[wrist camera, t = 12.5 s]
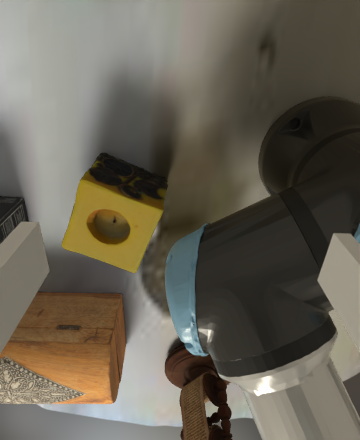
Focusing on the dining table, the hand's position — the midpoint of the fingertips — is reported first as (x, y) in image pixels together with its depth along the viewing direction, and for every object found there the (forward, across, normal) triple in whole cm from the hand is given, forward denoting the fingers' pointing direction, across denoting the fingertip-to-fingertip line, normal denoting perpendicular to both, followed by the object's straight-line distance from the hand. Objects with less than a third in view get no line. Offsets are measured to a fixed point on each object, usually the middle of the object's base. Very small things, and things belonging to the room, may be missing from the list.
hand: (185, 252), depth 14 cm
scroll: (+29, -6, +48) cm, 56 cm away
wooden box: (+29, +24, +38) cm, 54 cm away
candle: (+29, +8, +11) cm, 32 cm away
